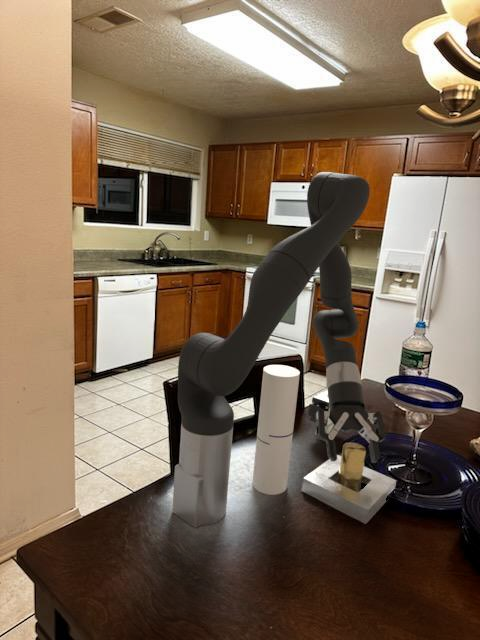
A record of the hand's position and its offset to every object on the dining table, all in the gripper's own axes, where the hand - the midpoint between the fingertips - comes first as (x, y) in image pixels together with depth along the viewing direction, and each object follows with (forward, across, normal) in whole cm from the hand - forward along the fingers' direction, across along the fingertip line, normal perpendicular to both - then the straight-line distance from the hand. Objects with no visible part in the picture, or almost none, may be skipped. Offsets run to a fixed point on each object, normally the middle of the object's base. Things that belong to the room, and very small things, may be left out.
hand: (354, 461), depth 89 cm
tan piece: (+5, 0, +6) cm, 8 cm away
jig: (+5, 0, +6) cm, 8 cm away
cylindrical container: (+4, -16, +8) cm, 18 cm away
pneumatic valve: (-13, +1, +24) cm, 27 cm away
